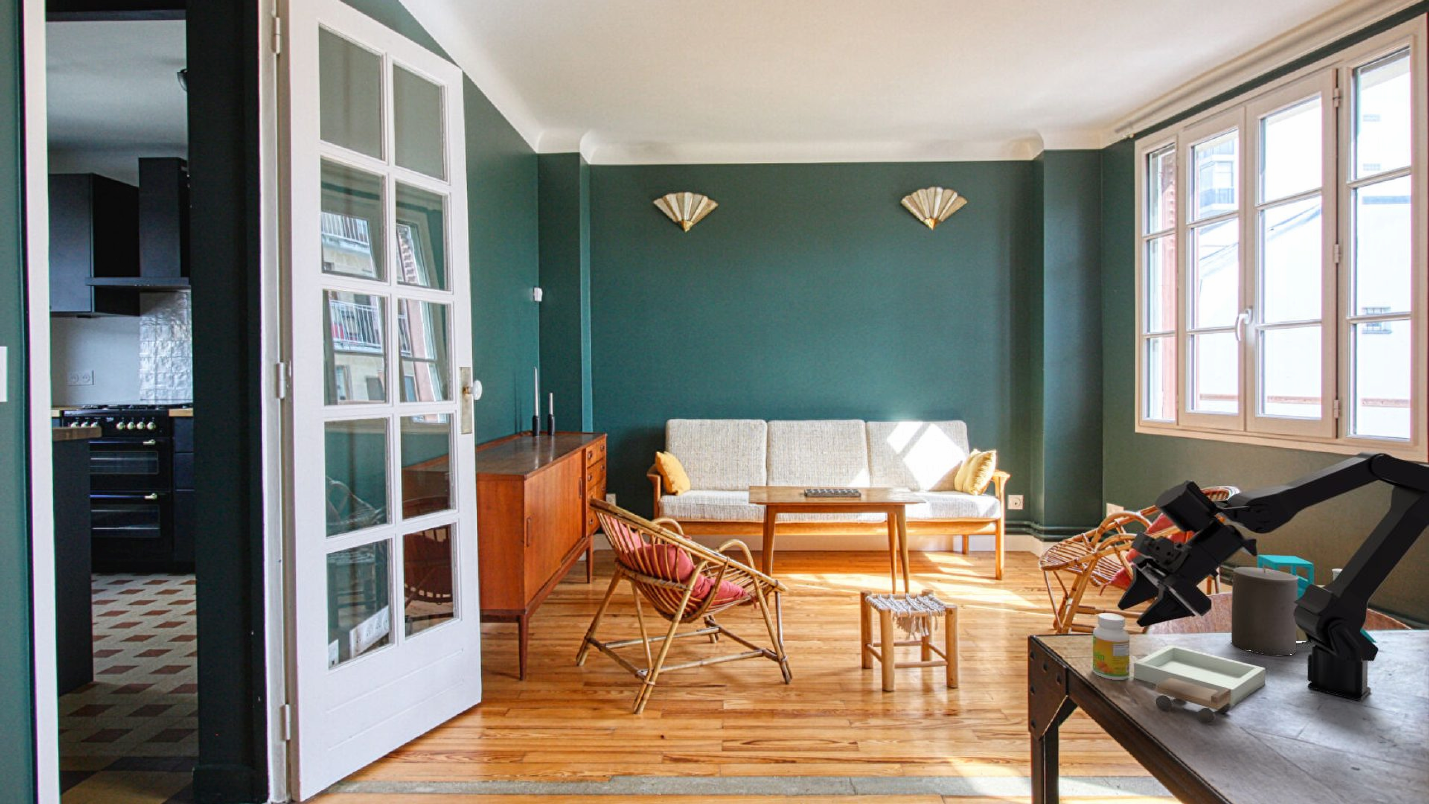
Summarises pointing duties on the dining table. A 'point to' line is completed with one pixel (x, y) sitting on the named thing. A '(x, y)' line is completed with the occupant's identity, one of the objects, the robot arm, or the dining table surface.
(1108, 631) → the supplement bottle
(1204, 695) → the cart
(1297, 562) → the toy train
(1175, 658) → the tray
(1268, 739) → the dining table surface
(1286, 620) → the pillar candle
